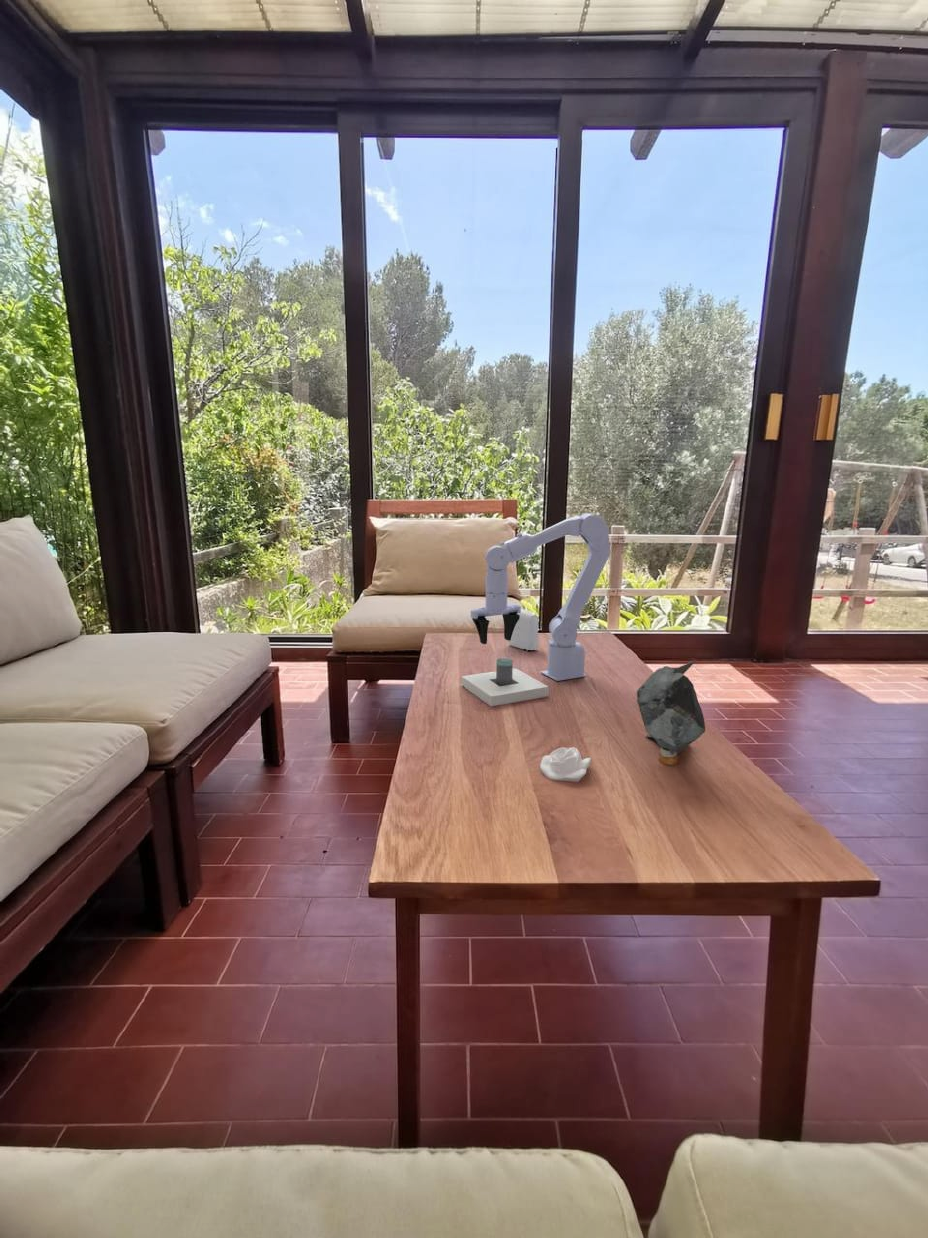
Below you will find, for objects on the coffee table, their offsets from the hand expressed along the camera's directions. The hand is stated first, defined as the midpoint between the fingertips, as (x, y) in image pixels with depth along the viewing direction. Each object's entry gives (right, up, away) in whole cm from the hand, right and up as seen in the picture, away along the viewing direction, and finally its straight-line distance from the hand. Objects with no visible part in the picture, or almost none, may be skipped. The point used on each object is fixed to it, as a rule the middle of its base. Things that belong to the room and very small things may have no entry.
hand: (495, 641), depth 160 cm
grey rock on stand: (+31, -21, -45) cm, 58 cm away
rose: (+10, -22, -51) cm, 56 cm away
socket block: (+2, -12, -10) cm, 16 cm away
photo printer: (+10, -3, +29) cm, 31 cm away
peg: (+2, -12, -10) cm, 16 cm away
